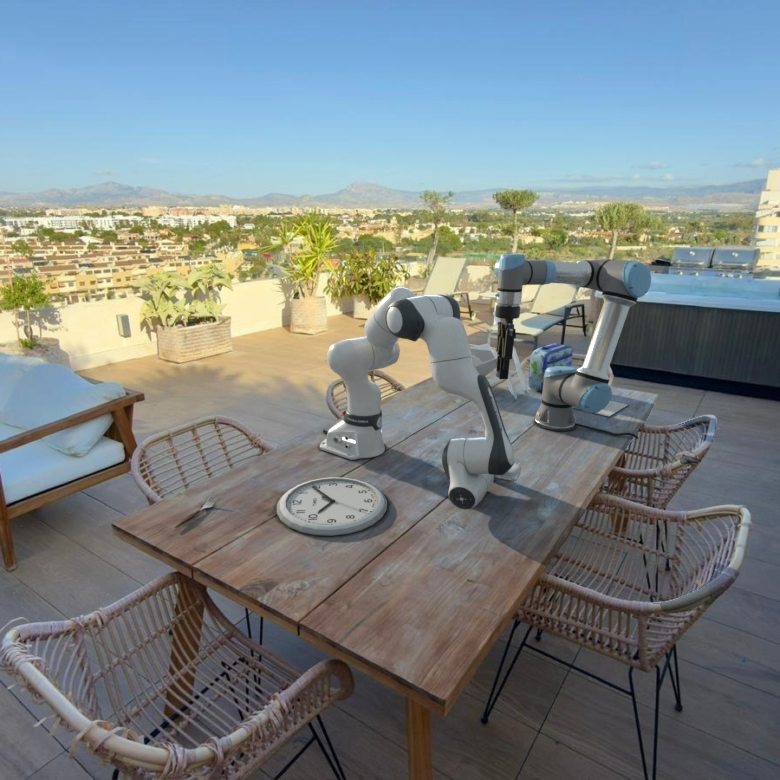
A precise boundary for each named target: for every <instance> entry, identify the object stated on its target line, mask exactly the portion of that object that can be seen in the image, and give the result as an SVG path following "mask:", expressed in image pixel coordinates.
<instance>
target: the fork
mask: <svg viewBox="0 0 780 780" xmlns="http://www.w3.org/2000/svg"><path fill="white" fill-rule="evenodd" d="M219 496H220V494H218V493H213V492H212V493H211V494H210V497H208V500H207V501H206V502H205V503H204V504H203V505H202V507H201V508H200V509H198V510H196V511H194V512H193V513H191V514H189V515H188V516H187V517H185V518H184V519H183V520H182V521H181V522H179V523H178V524H177V525H175V527H174V528H175V529H177V528H179V527H180V526H182V525H184V524H185V523H187V522H189V521H190V520H192V519H194V517H196V516H197V515H198V514H199V513H201V511H203V510H204V509H210V508H212V507H213V506H214V505H215V504H216V502H217V500H218V498H219Z"/></svg>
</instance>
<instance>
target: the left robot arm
mask: <svg viewBox="0 0 780 780" xmlns="http://www.w3.org/2000/svg"><path fill="white" fill-rule="evenodd" d="M363 329H364V334H365V336H362V337H355V338H354V337H353V338H347V339H346V338H345V339H342V340H340V341H337V342H335V343H332V344H331V345H330V346H329V348H328V349H327V353H326V360H327V364H328V366H329V368H330V370H331V371H332V372H334V373H335V374H336V375H338V376H339V378H341V379H342V381H343V383H344V386H345V389H346V400H347V401H346V402H347V408H346V409H344V410H343V411H342V412H341V413H340V417H343V418H342V419H341V420H340V421H338V422H336V423H335V424H334V425H332V426H331V427H330V428H329V429H328V430H326V429H323V430H322V433H324V434H325V435H326V438H325V439H323V440H322V441H321V442H320V444H319V449H320V450H322V451H323V452H324V451H325V452H327V453H330V454H333V455H336V456H339V457H341V458H344V459H346V460H349V461H354V460H359V459H368V458H374V457H375V458H376V457H378V456H380V455H382V454H383V453H385V451H386V447H385V444H384V440H383V434H382V433H383V430H382V427H383V411H382V408H381V407H382V406H381V405H382V390H381V388H380V386H379V385H378V384H377V383H375V382H374V381H372V380H370V379H369V376H368V372H369V371H370V372H371V371H376V370H379V369H385V368H388V367H390V366H392V365H394V364H396V363H397V362H398V360H399V359H400V354H401V349H400V345H399V343H398V341H399V339H403V340H408V341H411V342H417V341H418V340H419V339H421V340H423V342H425V344H426V346H427V351H428V358H429V359H428V360H429V367H430V373H431V376H432V380H433V382H434V383H435V384H436V385H437V387H439V388H440V389H441V390H442V391H444V392H446V393H449V394H451V395H455V396H458V397H462V398H465V399H467V400H470V401H471V402H472V403H474V404H475V405H476V406H477V408H478V410H479V413H480V416H481V418H482V422H483V424H484V425H483V426H484V428H486V431H487V435H488V436H487V437H485V436H478V437H458V438H457V437H456V438H451V439H449V441H447V443H446V444H445V446H444V449H443V451H442V454H441V462H442V463H441V465H442V468H443V471H444V474H445V475H446V477H447V478H448V480H449V488H448V499H449V501H450V503H451V504H452V505H453V506H455V507H456V508H458V509H461V510H471V509H473V508H475V507H477V505H479V504H481V502H482V500H483V499H484V497H485V496H486V494H487V492H488V491H489V489H490V488H491V486H492V484H493V483H494V481H498V482H501V483H507V484H508V483H509V484H510V483H511V484H512V483H514V482H517V481H518V479H519V477H520V476H521V473H522V465H521V463H519V462H515V451H514V447H513V445H512V442H511V440H510V437H509V436H508V433H507V431H506V428H505V425H504V421H503V418H502V415H501V412H500V409H499V405H498V403H497V400H496V396H495V393H494V391H493V389H492V386H491V383H490V381H489V379H488V378H487V377H486V376H483V375H481V374H480V373H479V372H478V371H477V369H476V368H475V366H474V364H473V361H472V355H471V349H470V347H471V346H470V345H471V344H470V341H469V337H468V334H467V330H466V327H465V325H464V323H463V321H462V320H461V308H460V305H459V303H458V302H457V300H456V299H455V298H454V297H452V296H449V295H446V294H436V295H435V294H425V295H423V294H422V295H419V296H417V295H416V294H415V293H414V292H413V291H412V290H411V289H410V288H407V287H403V286H399V287H395V288H393V289H392V290H390V291H389V292H388V293H387V294H386V295H385V296H384V297H383V298H382V299H381V300H380V301H379V302H378V303H377V305H376V306H375V307H374V309H373V310H372V312H371V314H369V316H368V318H367V319H366V321H365V323H364V328H363Z"/></svg>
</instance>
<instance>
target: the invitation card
mask: <svg viewBox="0 0 780 780" xmlns="http://www.w3.org/2000/svg"><path fill="white" fill-rule="evenodd" d="M628 406H629V404H627V403H623V402H618V401H614V400H610V401H609V403H608V405H607V406H606V407H605V408H604V409H602V410H601V411H599V412H597V413H595V414H596V415H600V416H604V417H608V418H609V417H611V416H613V415H614V414H616V413H617V412H619V411H621V410H623V409H624V408H626V407H628ZM573 409H575V410H579V409H578V408H575V407H573Z"/></svg>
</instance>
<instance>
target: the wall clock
mask: <svg viewBox="0 0 780 780" xmlns="http://www.w3.org/2000/svg"><path fill="white" fill-rule="evenodd" d="M387 509H388V500H387V498H386V496H385V494H384V493H383V492H382V491H381V490H380V489H379V488H377V487H376V486H374V485H372V484H371V483H369V482H365V481H362V480H359V479H355V478H349V477H338V476H337V477H335V476H333V477H332V476H331V477H322V478H317V479H312V480H307V481H305V482H302V483H299V484H297V485H295V486H293V487H292V488H290V489H288V490H287V491H286V492H285V493H284V494H283V495H281V496H280V498H279V499H278V502H277V503H276V515H277V517H278V518H279V520H280V521H281V522H282V523H283V524H285V525H286V526H287V527H288V528H290V529H293V530H295V531H297V532H299V533H303V534H308V535H312V536H327V537H328V536H329V537H331V536H332V537H333V536H342V535H350V534H352V533H356V532H361V531H363V530H366V529H368V528H369V527H372V526H373V525H375V524H376V523H378V522H379V521H380V520H381V519H382V518H383V517H384V516H385V514H386V512H387Z"/></svg>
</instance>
